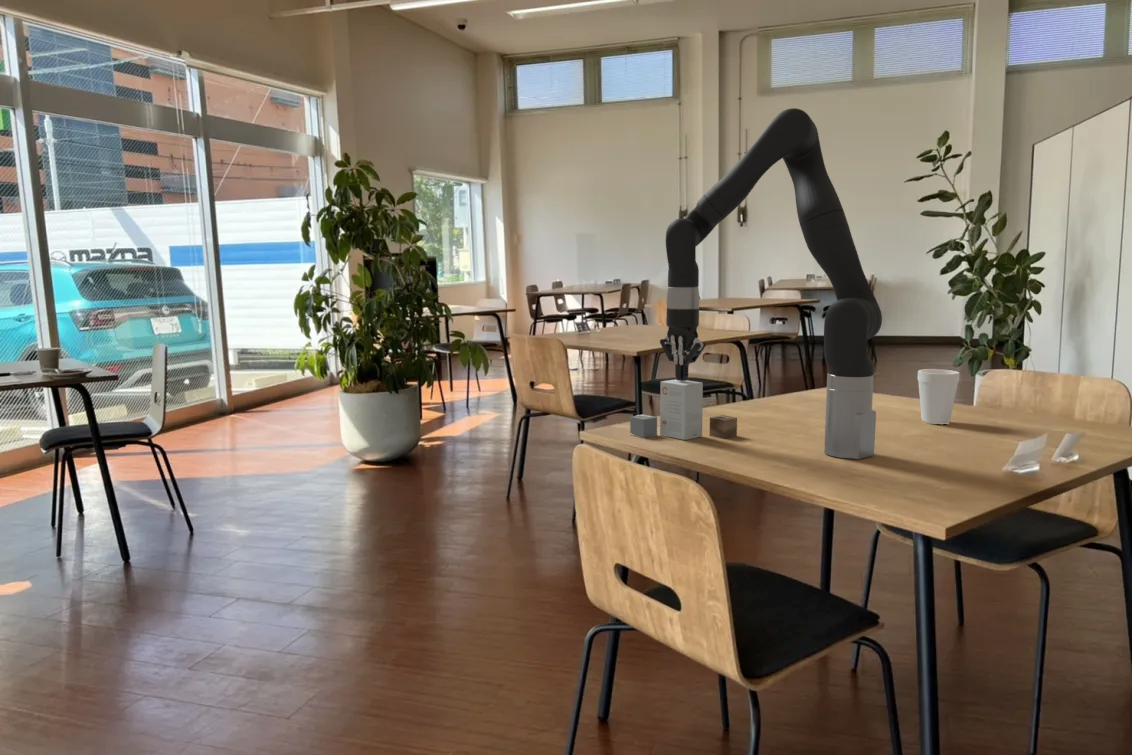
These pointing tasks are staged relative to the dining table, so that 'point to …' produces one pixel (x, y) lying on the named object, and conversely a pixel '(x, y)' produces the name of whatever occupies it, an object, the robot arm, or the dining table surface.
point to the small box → (681, 409)
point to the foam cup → (937, 394)
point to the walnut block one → (723, 426)
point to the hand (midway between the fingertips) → (681, 380)
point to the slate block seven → (643, 425)
